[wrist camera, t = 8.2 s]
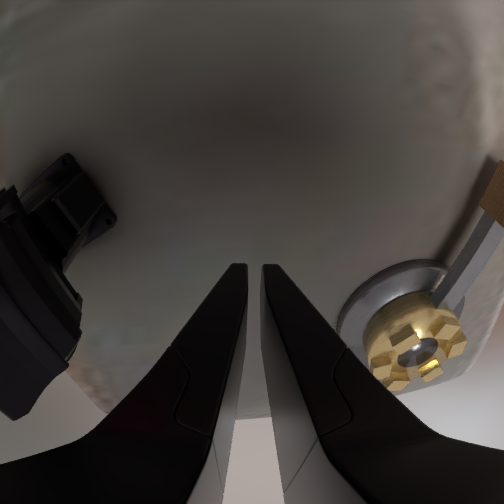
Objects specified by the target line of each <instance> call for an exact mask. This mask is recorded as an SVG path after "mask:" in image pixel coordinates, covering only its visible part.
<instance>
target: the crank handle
mask: <svg viewBox="0 0 504 504" xmlns="http://www.w3.org/2000/svg"><path fill="white" fill-rule="evenodd" d="M478 205H479V206H480V207H482V208H483V209H484V210H485V212H484V214H483V215H482V217H481V219H480V221H479V223H478V224H477V226H476V228H475V229H474V231H473V233H472V234H471V236H470V238H469V239H468V241H467V243H466V244H465V246H464V248H463V249H462V251H461V252H460V254H459V255H458V257H457V259H456V260H455V262H454V263H453V265H452V266H451V268H450V269H449V271H448V272H447V274H446V275H445V277H444V278H443V280H442V281H441V282H440V284H439V285H438V287H437V288H436V290H435V291H434V292H430V291H423V292H416V293H412V294H408V295H405V296H403V297H401V298H399V299H397V300H395V301H393V302H391V303H390V304H388V305H387V306H385V307H384V308H382V309H381V310H380V311H379V312H378V313H377V314H376V315H375V316H374V317H373V318H372V319H371V320H370V321H369V323H368V324H367V326H366V328H365V330H364V333H363V336H362V344H363V347H364V350H365V354H366V357H367V360H368V364H369V367H370V372H371V373H372V374H373V375H374V376H375V377H376V378H377V379H379V380H381V381H382V383H383V385H384V386H385V387H386V388H387V389H388V390H394V391H401V390H402V389H403V388H404V387H405V386H406V385H407V384H408V383H409V382H410V379H412V378H415V377H418V376H420V375H421V377H422V379H423V380H424V381H425V382H426V383H427V382H428V381H430V380H432V379H433V378H435V377H437V376H438V375H440V374H442V373H443V372H444V371H443V369H442V367H441V365H440V364H441V363H442V362H443V361H444V360H445V359H446V358H447V359H448V358H451V357H454V356H457V355H460V354H462V352H463V350H464V347H465V345H466V342H467V339H466V337H465V335H464V333H463V332H462V328H461V325H460V323H459V321H458V319H457V318H456V316H455V314H454V312H453V310H454V308H455V307H456V306H457V304H458V303H459V302H460V300H461V299H462V298H463V296H464V295H465V294H466V292H467V291H468V290H469V288H470V287H471V286H472V284H473V283H474V281H475V280H476V278H477V277H478V276H479V274H480V273H481V271H482V270H483V268H484V267H485V265H486V264H487V262H488V261H489V259H490V258H491V256H492V255H493V253H494V251H495V250H496V248H497V247H498V245H499V243H500V242H501V240H502V238H503V237H504V162H503V161H502V160H500V162H499V164H498V166H497V168H496V171H495V173H494V175H493V177H492V179H491V181H490V183H489V185H488V187H487V189H486V191H485V193H484V195H483V196H482V198H481V200H480V202H479V204H478Z"/></svg>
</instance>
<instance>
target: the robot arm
mask: <svg viewBox="0 0 504 504" xmlns="http://www.w3.org/2000/svg"><path fill="white" fill-rule="evenodd" d="M64 159H66V160H67V163H65V161H64ZM16 193H17V190H16V188H15V186H14V185H12V186H10V187H9V188H7V189H5V187H4V188H2V189H1V190H0V411H1V412H2V413H3V414H4V415H5V416H7V417H8V418H9V419H11V420H13V421H15V420H17V419H19V418H21V417H23V416H25V415H26V414H28V413H29V412H30V410H31V409H32V407H33V406H34V404H35V402H36V401H37V399H38V398H39V396H40V395H41V393H42V392H43V390H44V389H45V388H46V387H47V385H48V384H49V383H50V382H51V381H52V380H53V379H54V378H55V377H56V376H58V375H59V374H60V373H62V372H63V371H64V370H66V369H67V368H68V367H69V363H68V361H69V359H70V358H71V357H72V355H73V353H74V352H75V349H76V347H77V344H78V342H79V340H80V338H81V334H82V331H81V329H80V328H79V327H80V321H81V316H82V313H81V309H82V301H83V299H82V297H81V296H80V295H79V293H76V291H75V290H74V289H73V287H72V286H71V284H70V283H69V281H68V280H67V278H66V277H65V275H64V273H65V271H66V270H67V268H68V267H69V265H70V264H71V262H72V261H73V259H74V258H75V256H76V255H77V253H78V252H79V250H80V249H81V248H82V247H83V246H85V245H86V244H88V243H89V242H91V241H92V240H94V239H95V238H97V237H98V236H100V235H101V234H103V233H104V232H106V231H108V230H109V229H111V228H112V227H113V226H114V225H115V224H116V222H117V218H116V216H115V215H114V214H113V212H112V211H111V210H110V208H109V207H108V206H107V204H106V203H105V202H104V199H103V198H102V197H101V195H100V194H99V192H98V191H97V190H96V188H95V187H94V186H93V184H92V183H91V182H90V180H89V179H88V177H87V176H86V175H85V174H84V173H83V172H82V170H81V169H80V168H79V166H78V165H77V163H76V162H75V160H74V159H73V158H72V156H71V155H70V154H68V153H65V154H63V155H62V156H61V157H59V158H58V159H57V160H56V161H55V162H54V163H53V164H52V165H51V166H50V167H49V168H48V169H47V170H46V171H44V172H43V173H42V174H41V175H40V176H39V177H38V178H37V179H36V180H35V181H34V182H33V183H32V184H31V185H30V186H29V187H28V188H27V189H26V190H25V191H24V193H23V194H22V195H21V196H20V198H18V196H17V194H16ZM108 219H110V220H111V221H112V222H109V221H108ZM247 308H248V265H247V264H245V263H232V264H231V265H230V266H229V268H228V269H227V270H226V271H225V273H224V274H223V275H222V277H221V278H220V279H219V281H218V282H217V283H216V285H215V286H214V287H213V289H212V290H211V291H210V293H209V294H208V295H207V297H206V298H205V299H204V301H203V302H202V303H201V304H200V306H199V307H198V308H197V310H196V311H195V312H194V314H193V315H192V316H191V318H190V319H189V320H188V322H187V323H186V324H185V326H184V327H183V328H182V330H181V331H180V332H179V334H178V335H177V336H176V338H175V339H174V340H173V342H172V343H171V346H169V347H168V348H167V349H166V351H165V352H164V354H163V355H162V356H161V358H160V359H159V360H158V361H157V363H156V364H155V365H154V366H153V367H152V369H151V370H150V371H149V372H148V374H147V375H146V376H145V377H144V378H143V379H142V380H141V381H140V382H139V383H138V384H137V385H136V386H135V388H134V389H133V390H132V391H131V392H130V393H129V394H128V395H127V396H126V397H125V398H124V399H123V400H122V401H121V402H120V403H119V404H118V405H117V406H116V407H115V408H114V409H113V410H112V411H111V412H110V413H109V414H108V415H107V416H106V417H105V418H104V419H103V420H102V421H101V422H100V423H99V424H98V425H97V426H96V427H95V428H94V429H93V430H91V431H90V432H89V433H88V434H86V435H85V436H83V437H82V438H80V439H78V440H76V441H74V442H72V443H69V444H66V445H63V446H60V447H57V448H55V449H51V450H48V451H45V452H42V453H38V454H35V455H32V456H29V457H25V458H22V459H18V460H15V461H11V462H8V463H4V464H0V504H222V501H223V493H224V488H225V482H226V475H227V468H228V462H229V456H230V449H231V443H232V436H233V430H234V423H235V417H236V410H237V404H238V397H239V390H240V384H241V377H242V370H243V364H244V357H245V349H246V332H247ZM260 322H261V349H262V357H263V364H264V370H265V377H266V384H267V390H268V397H269V403H270V410H271V417H272V423H273V430H274V436H275V443H276V449H277V456H278V462H279V469H280V475H281V482H282V488H283V493H284V501H285V504H504V450H500V449H495V448H489V447H485V446H481V445H477V444H473V443H468V442H464V441H460V440H456V439H453V438H449V437H446V436H443V435H441V434H439V433H437V432H435V431H434V430H432V429H431V428H429V427H428V426H427V425H425V424H424V423H423V422H422V421H420V419H418V418H417V417H416V416H415V415H414V414H413V413H412V412H411V411H410V410H409V409H408V408H407V407H406V406H405V405H404V404H403V403H402V402H401V401H399V400H398V399H397V398H396V397H395V396H394V395H393V394H392V393H391V392H390V391H389V390H388V389H387V388H386V387H385V386H384V385H383V384H382V383H381V382H380V381H379V380H378V379H377V378H376V377H375V376H374V375H373V374H372V373H371V372H370V371H369V370H368V369H367V368H366V367H365V366H364V364H363V363H362V362H361V361H360V360H359V359H358V358H357V356H356V355H355V354H354V353H353V352H352V350H351V349H350V348H347V345H346V344H345V342H344V341H343V340H342V339H341V338H340V336H339V335H338V334H337V333H336V332H335V330H334V329H333V328H332V327H331V326H330V325H329V323H328V322H327V321H326V320H325V319H324V317H323V316H322V315H321V314H320V313H319V311H318V310H317V309H316V308H315V307H314V306H313V304H312V303H311V302H310V301H309V300H308V299H307V297H306V296H305V295H304V294H303V293H302V291H301V290H300V289H299V288H298V287H297V286H296V284H295V283H294V282H293V281H292V280H291V279H290V277H289V276H288V275H287V274H286V273H285V271H284V270H283V269H282V268H281V267H280V266H279V265H278V264H263V266H262V273H261V287H260Z"/></svg>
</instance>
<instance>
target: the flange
mask: <svg viewBox="0 0 504 504" xmlns="http://www.w3.org/2000/svg"><path fill="white" fill-rule="evenodd" d="M449 269H450V268H448V267H447V266H446V265H444V264H442V263H440V262H437V261H433V260H412V261H407V262H403V263H400V264H397V265H394V266H392V267H389V268H387V269H385V270H383V271H381V272H379V273H378V274H376V275H374V276H373V277H371V278H370V279H369V280H367V281H366V282H365V283H363V284H362V285H361V286H360V287H359V288H358V289H357V290H356V291H355V292H354V293H353V294H352V295H351V296H350V298H349V299H348V300H347V302H346V303H345V305H344V307H343V308H342V310H341V313H340V315H339V318H338V323H337V332H338V335H339V336H340V338H341V339H342V340H343V341H344V342H345V344H346V345H347V348H350V349H351V350H352V352H353V353H354V354H355V355H356V356H357V358H358V359H359V360H360V361H361V362H362V363H363V364H364V366H366V367H369V364H368V360H367V357H366V354H365V350H364V347H363V344H362V336H363V333H364V330H365V328H366V326H367V324H368V323H369V321H370V320H371V319H372V318H373V317H374V316H375V315H376V314H377V313H378V312H379V311H380V310H381V309H382V308H384V307H385V306H387V305H388V304H390V303H391V302H393V301H395V300H397V299H399V298H401V297H403V296H405V295H408V294H412V293H416V292H423V291H430V292H434V291H435V290H436V288H437V287H438V285H439V284H440V282H441V281H442V280H443V278H444V277H445V275H446V274H447V272H448V271H449ZM464 299H465V297H464V296H463V298H462V299H461V300H460V302H459V303H458V304H457V306H456V307H455V308H454V310H453V312H454V314H455V316H456V318H457V319H459V317H460V315H461V313H462V310H463V306H464Z"/></svg>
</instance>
